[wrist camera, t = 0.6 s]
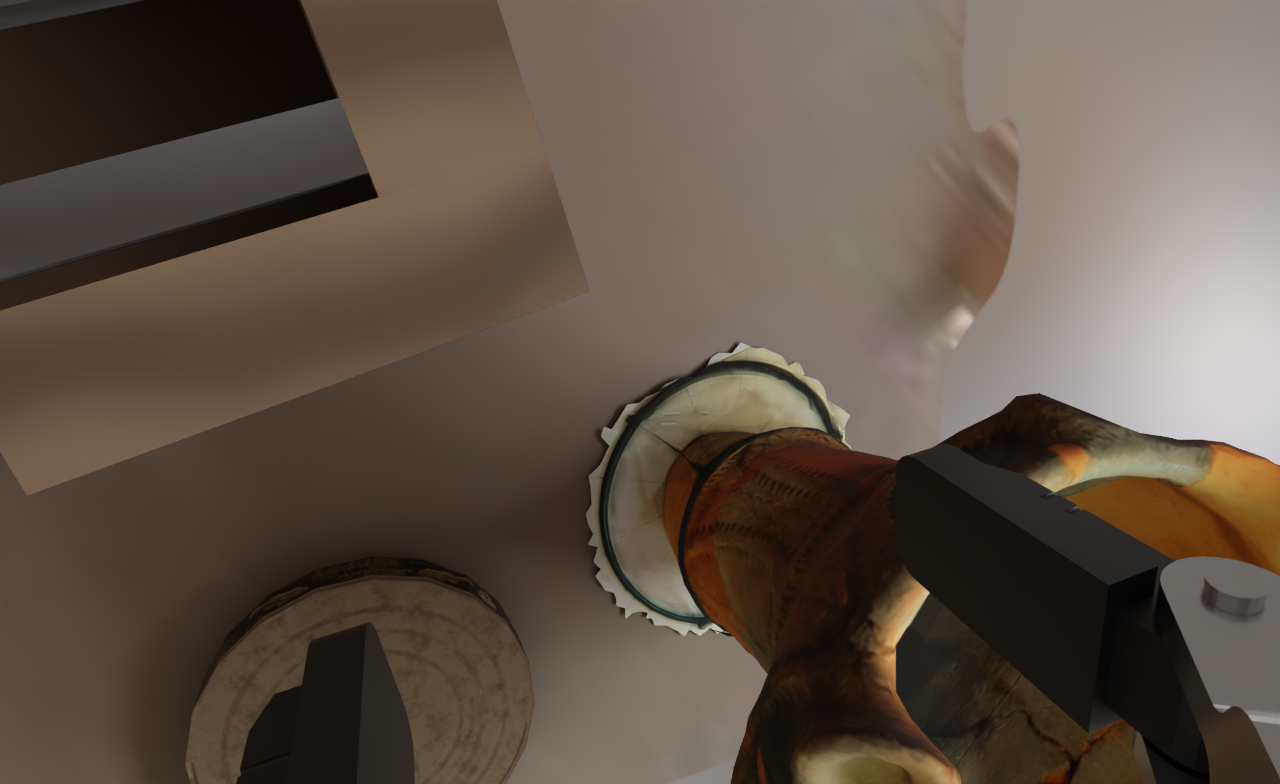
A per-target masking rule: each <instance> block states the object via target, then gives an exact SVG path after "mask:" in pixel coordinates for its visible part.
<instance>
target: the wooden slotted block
mask: <svg viewBox="0 0 1280 784" xmlns="http://www.w3.org/2000/svg"><path fill="white" fill-rule="evenodd" d="M138 1H143V0H0V30H2V29H7V28H12V27H17V26H22V25H26V24H31V23H36V22H41V21H46V20H51V19H56V18H60V17H65V16H70V15H75V14H80V13H85V12H90V11H95V10H99V9H104V8H109V7H114V6H119V5H124V4H129V3H133V2H138ZM298 1H299V4H300V6H301V9H302V11H303V14H304V16H305V19H306V21H307V24H308V26H309V29H310V31H311V34H312V37H313V39H314V42H315V44H316V47H317V49H318V52H319V54H320V57H321V59H322V62H323V64H324V67H325V69H326V72H327V74H328V77H329V79H330V82H331V84H332V87H333V89H334V92H335V94H336V97H337V99H333V100H329V101H325V102H321V103H318V104H314V105H310V106H306V107H302V108H298V109H294V110H290V111H286V112H283V113H279V114H275V115H271V116H267V117H263V118H259V119H255V120H251V121H248V122H244V123H240V124H236V125H232V126H228V127H224V128H220V129H216V130H213V131H209V132H205V133H201V134H197V135H193V136H189V137H185V138H181V139H178V140H174V141H170V142H166V143H162V144H158V145H154V146H150V147H146V148H143V149H139V150H135V151H131V152H127V153H123V154H119V155H115V156H111V157H108V158H104V159H100V160H96V161H92V162H88V163H84V164H80V165H76V166H73V167H69V168H65V169H61V170H57V171H53V172H49V173H45V174H41V175H38V176H34V177H30V178H26V179H22V180H18V181H14V182H10V183H6V184H3V185H0V283H3V282H6V281H9V280H13V279H16V278H20V277H23V276H27V275H30V274H34V273H37V272H40V271H44V270H47V269H51V268H54V267H58V266H61V265H65V264H68V263H72V262H75V261H78V260H82V259H85V258H89V257H92V256H96V255H99V254H103V253H106V252H109V251H113V250H116V249H120V248H123V247H127V246H130V245H134V244H137V243H141V242H144V241H147V240H151V239H154V238H158V237H161V236H165V235H168V234H172V233H175V232H178V231H182V230H185V229H189V228H192V227H196V226H199V225H203V224H206V223H210V222H213V221H216V220H220V219H223V218H227V217H230V216H234V215H237V214H241V213H244V212H247V211H251V210H254V209H258V208H261V207H265V206H268V205H272V204H275V203H279V202H282V201H285V200H289V199H292V198H296V197H299V196H303V195H306V194H310V193H313V192H316V191H320V190H323V189H327V188H330V187H334V186H337V185H341V184H344V183H348V182H351V181H354V180H358V179H361V178H365V177H369V180H370V182H371V185H372V187H373V190H374V192H375V195H376V197H377V198H375V199H372V200H369V201H365V202H362V203H358V204H355V205H352V206H348V207H345V208H342V209H338V210H335V211H332V212H328V213H325V214H322V215H318V216H315V217H312V218H308V219H305V220H302V221H298V222H295V223H292V224H288V225H285V226H282V227H278V228H275V229H272V230H268V231H265V232H261V233H258V234H255V235H251V236H248V237H245V238H241V239H238V240H235V241H231V242H228V243H225V244H221V245H218V246H215V247H211V248H208V249H205V250H201V251H198V252H195V253H191V254H188V255H185V256H181V257H178V258H175V259H171V260H168V261H164V262H161V263H158V264H154V265H151V266H148V267H144V268H141V269H138V270H134V271H131V272H128V273H124V274H121V275H118V276H114V277H111V278H108V279H104V280H101V281H98V282H94V283H91V284H88V285H84V286H81V287H78V288H74V289H71V290H67V291H64V292H61V293H57V294H54V295H51V296H47V297H44V298H41V299H37V300H34V301H31V302H27V303H24V304H21V305H17V306H14V307H11V308H7V309H4V310H1V311H0V453H1V455H2V456H3V458H4V460H5V461H6V463H7V464H8V466H9V467H10V469H11V471H12V472H13V474H14V475H15V477H16V479H17V480H18V482H19V483H20V485H21V487H22V488H23V490H24V491H25V493H26V494H27V496H28V495H31V494H33V493H36V492H39V491H42V490H44V489H47V488H50V487H53V486H55V485H58V484H61V483H64V482H66V481H69V480H72V479H75V478H77V477H80V476H83V475H86V474H88V473H91V472H94V471H97V470H99V469H102V468H105V467H108V466H110V465H113V464H116V463H119V462H121V461H124V460H127V459H130V458H132V457H135V456H138V455H141V454H143V453H146V452H149V451H152V450H154V449H157V448H160V447H163V446H165V445H168V444H171V443H174V442H176V441H179V440H182V439H185V438H187V437H190V436H193V435H196V434H198V433H201V432H204V431H207V430H209V429H212V428H215V427H218V426H220V425H223V424H226V423H229V422H231V421H234V420H237V419H240V418H242V417H245V416H248V415H251V414H253V413H256V412H259V411H262V410H264V409H267V408H270V407H273V406H275V405H278V404H281V403H284V402H286V401H289V400H292V399H295V398H297V397H300V396H303V395H306V394H308V393H311V392H314V391H317V390H319V389H322V388H325V387H328V386H330V385H333V384H336V383H338V382H341V381H344V380H347V379H349V378H352V377H355V376H358V375H360V374H363V373H366V372H369V371H371V370H374V369H377V368H380V367H382V366H385V365H388V364H391V363H393V362H396V361H399V360H402V359H404V358H407V357H410V356H413V355H415V354H418V353H421V352H424V351H426V350H429V349H432V348H435V347H437V346H440V345H443V344H446V343H448V342H451V341H454V340H457V339H459V338H462V337H465V336H468V335H470V334H473V333H476V332H479V331H481V330H484V329H487V328H490V327H492V326H495V325H498V324H501V323H503V322H506V321H509V320H512V319H514V318H517V317H520V316H523V315H525V314H528V313H531V312H534V311H536V310H539V309H542V308H545V307H547V306H550V305H553V304H556V303H558V302H561V301H564V300H567V299H569V298H572V297H575V296H578V295H580V294H583V293H586V292H589V291H590V290H589V287H588V284H587V281H586V278H585V275H584V272H583V269H582V265H581V262H580V259H579V256H578V253H577V250H576V247H575V244H574V240H573V237H572V234H571V231H570V228H569V225H568V222H567V219H566V215H565V212H564V209H563V206H562V203H561V200H560V197H559V194H558V190H557V187H556V184H555V181H554V178H553V175H552V172H551V169H550V165H549V162H548V159H547V156H546V153H545V150H544V147H543V144H542V140H541V137H540V134H539V131H538V128H537V125H536V122H535V119H534V115H533V112H532V109H531V106H530V103H529V100H528V97H527V93H526V90H525V87H524V84H523V81H522V78H521V75H520V72H519V68H518V65H517V62H516V59H515V56H514V53H513V50H512V47H511V43H510V40H509V37H508V34H507V31H506V28H505V25H504V22H503V18H502V15H501V12H500V9H499V6H498V3H497V0H298Z"/></svg>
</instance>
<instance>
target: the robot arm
mask: <svg viewBox="0 0 1280 784" xmlns="http://www.w3.org/2000/svg"><path fill="white" fill-rule="evenodd" d="M895 481H896V543H897V548H898V552H899V555H900V558H901V560H902V562H903V564H904V566H905V567H906V569H907V571H908V572H909V573H910V575H911V576H912V577H913V578H914V579H915V580H916V581H917V582H918V583H920V584H921V585H922V586H923V587H924V588H925V589H926V590H927V591H929V592H930V593H931V594H932V595H933V596H934V597H935V598H936V599H938V600H939V601H940V602H941V603H942V604H943V605H944V606H945V607H947V608H948V609H949V610H950V611H951V612H952V613H953V614H954V615H956V616H957V617H958V618H959V619H960V620H961V621H962V622H963V623H965V624H966V625H967V626H968V627H969V628H970V629H971V630H972V631H974V632H975V633H976V634H977V635H978V636H979V637H980V638H981V639H983V640H984V641H985V642H986V643H987V644H988V645H989V646H990V647H992V648H993V649H994V650H995V651H996V652H997V653H998V654H999V655H1001V656H1002V657H1003V658H1004V659H1005V660H1006V661H1007V662H1008V663H1010V664H1011V665H1012V666H1013V667H1014V668H1015V669H1016V670H1017V671H1019V672H1020V673H1021V674H1022V675H1023V676H1024V677H1025V678H1026V679H1028V680H1029V681H1030V682H1031V683H1032V684H1033V685H1034V686H1035V687H1037V688H1038V689H1039V690H1040V691H1041V692H1042V693H1043V694H1044V695H1046V696H1047V697H1048V698H1049V699H1050V700H1051V701H1052V702H1053V703H1055V704H1056V705H1057V706H1058V707H1059V708H1060V709H1061V710H1062V711H1064V712H1065V713H1066V714H1067V715H1068V716H1069V717H1070V718H1071V719H1073V720H1074V721H1075V722H1076V723H1077V724H1078V725H1079V726H1080V727H1082V728H1083V729H1084V730H1085V731H1086V732H1087V733H1088V734H1089V733H1091V732H1094V731H1096V730H1098V729H1100V728H1103V727H1105V726H1107V725H1109V724H1112V723H1114V722H1116V721H1118V720H1121V719H1123V720H1125V721H1126V722H1127V723H1128V724H1129V725H1131V726H1132V727H1133V728H1134V734H1133V741H1132V748H1133V753H1134V757H1135V760H1136V763H1137V767H1138V770H1139V774H1140V777H1141V780H1142V784H1280V576H1278V575H1277V574H1275V573H1272V572H1270V571H1268V570H1266V569H1263V568H1260V567H1258V566H1255V565H1252V564H1249V563H1245V562H1241V561H1237V560H1232V559H1227V558H1219V557H1202V556H1201V557H1189V558H1184V559H1180V560H1177V561H1175V560H1173V559H1171V558H1169V557H1168V556H1166V555H1164V554H1162V553H1161V552H1159V551H1157V550H1155V549H1154V548H1152V547H1150V546H1148V545H1146V544H1145V543H1143V542H1141V541H1139V540H1138V539H1136V538H1134V537H1132V536H1131V535H1129V534H1127V533H1125V532H1124V531H1122V530H1120V529H1118V528H1117V527H1115V526H1113V525H1111V524H1109V523H1108V522H1106V521H1104V520H1102V519H1101V518H1099V517H1097V516H1095V515H1094V514H1092V513H1090V512H1088V511H1087V510H1085V509H1084V510H1082V511H1081V510H1080V509H1079V507H1078V505H1076V504H1074V503H1072V502H1071V501H1069V500H1067V499H1065V498H1064V497H1062V496H1060V495H1058V496H1055V495H1054V492H1053V491H1051V490H1050V489H1048V488H1046V487H1044V486H1043V485H1041V484H1039V483H1037V482H1036V481H1034V480H1032V479H1030V478H1028V477H1027V476H1025V475H1023V474H1019V473H1016V472H1013V471H1009V470H1006V469H1003V468H999V467H996V466H992V465H989V464H984V463H982V462H980V461H979V460H977V459H975V458H974V457H972V456H970V455H969V454H967V453H965V452H963V451H962V450H960V449H958V448H957V447H955V446H953V445H950V444H942V445H939V446H936V447H933V448H930V449H926V450H923V451H920V452H917V453H914V454H910V455H907V456H904V457H902V458H900V460H899V461H898V463H897V465H896V473H895ZM240 772H241V776H239V777H238V778H237V783H236V784H415V767H414V748H413V740H412V734H411V729H410V724H409V720H408V716H407V712H406V709H405V706H404V703H403V700H402V698H401V695H400V692H399V690H398V687H397V684H396V682H395V679H394V676H393V674H392V671H391V668H390V666H389V663H388V660H387V658H386V655H385V652H384V650H383V647H382V644H381V642H380V639H379V636H378V634H377V631H376V629H375V627H374V626H373V624H372V623H371V622H368V623H365V624H361V625H358V626H355V627H352V628H349V629H345V630H342V631H339V632H336V633H333V634H329V635H326V636H323V637H320V638H317V639H313V640H311V641H310V643H309V646H308V651H307V657H306V663H305V669H304V675H303V681H302V685H300V686H297V687H294V688H291V689H288V690H285V691H282V692H279V693H275V694H274V695H273V696H272V698H271V699H270V701H269V702H268V704H267V705H266V707H265V708H264V710H263V711H262V713H261V714H260V716H259V717H258V719H257V720H256V722H255V723H254V725H253V726H252V727H251V729H250V730H249V733H248V737H247V741H246V745H245V749H244V754H243V758H242V762H241V766H240Z"/></svg>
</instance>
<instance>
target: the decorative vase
mask: <svg viewBox="0 0 1280 784" xmlns="http://www.w3.org/2000/svg"><path fill="white" fill-rule="evenodd" d="M849 417H850V415H849V414H848V413H846V412H845V411H844V410H843V409H841V408H840V407H838V406H836V405H834V404H833V403H831V402H830V401H828V400H826V393H825V389H824V387H823V386H822V384H821V383H820V382H819V380H816V379H813V378H810V377H806V376H805V374H804V372H803V369H802V367H801V365H800V364H798V363H796V362H794V363H792V364H791V365H789V366H788V365H787V363H786V362H785V360H784V358H783V357H782V356H781V355H779V354H776V353H774V352H772V351H769V350H767V349H765V348H752V347H750V346H748V345H746V344H743V343H740V344H739V345H738V346H737V347H736V349H735V350H734V351H733V352H732V353H717V354H716V355H714V356H713V357H712V358H711V359H710V361H709V363H708V365H707V366H706V367H705V368H704V369H703V370H702V371H701V372H700V373H699V374H698V375H697V376H696V377H687V378H678V379H676V380H674V381H672V382H669V383H667V384H666V385H664V386H663V387H662V388H661V389H660V390H659V391H658V392H656V393H654V394H652V395H650V396H647V397H645V398H644V399H643V400H642V401H641V402H640V403H635V404H627V406H626V407H625V409H624V411H623V412H622V414H621V416H620V417H619V419H618V420H617V422H616V423H615V425H614V426H613V428H612V429H609V428H607V427H604V429H603V432H602V434H601V437H602V438H603V439H604V440H605V442H606V443H607V444H608V445H609V448H608V450H607V452H606V454H605V456H604V458H603V460H602V462H601V464H600V466H599V467H598V468H596V469H595V470H594V471H593V472H592V473H591V474H590V475H589V476H588V477H589V482H590V488H591V501H592V505H591V506H590V508H589V509H588V511H587V513H586V517H587V521H588V525H589V527H590V529H591V531H592V533H593V536H592V538H591V539H590V541H589V543H588V545H591V546H595V547H597V551H596V555H595V558H594V561H593V562H594V563H595V564H596V565H597V566H598V567H599V568H600V569H601V570H600V571H599V572H598V573H597V575H596V578H597V579H598V581H599V582H600V583H601V585H602V586H603V588H604V590H605V591H609V592H613V593H614V595H615V597H616V606H619V607H622V608H625V615H626V619H627V618H628V617H629V616H630V615H631V614H632V613H635V612H638V611H640V612H647V613H648V614H647V617H646V619H647V618H652V620H653V623H654V625H663V626H668V627H670V628H672V629H674V630H676V631H678V632H679V633H681V634H682V635H683V636H685V635H686V633H687V632H688V631H689V630H691V631H692V632H694V633H696V634H698V635H700V636H701V635H702V634H703V633H704V632H706V631H707V630H708V629H709V628H712V629H711V630H714V631H715V632H716V633H717V634H718V633H722V634H724V635H727V636H733V637H735V639H736V640H737V641H738V642H739V643H740V644H741V645H742V646H743V648H744V649H745V650H746V651H747V652H748V653H750V654H751V655H752V656H754V657H755V658H756V660H757V661H758V662H759V664H760V665H761V666H762V668H763V669H764V670H765V671H766V673H767V674H768V675H767V678H766V680H765V683H764V685H763V688H762V691H761V693H760V695H759V697H758V699H757V701H756V703H755V705H754V707H753V709H752V711H751V713H750V715H749V717H748V722H747V727H746V732H745V736H744V738H743V741H742V744H741V746H740V749H739V753H738V756H737V759H736V762H735V766H734V770H733V775H732V780H731V784H1142V780H1141V777H1140V774H1139V770H1138V767H1137V763H1136V760H1135V757H1134V753H1133V748H1132V741H1133V734H1134V728H1133V727H1132V726H1131V725H1129V724H1128V723H1127V722H1126V721H1125V720H1123V719H1121V720H1118V721H1116V722H1114V723H1112V724H1109V725H1107V726H1105V727H1103V728H1100V729H1098V730H1096V731H1094V732H1091V733H1089V734H1088V733H1087V732H1086V731H1085V730H1084V729H1083V728H1082V727H1080V726H1079V725H1078V724H1077V723H1076V722H1075V721H1074V720H1073V719H1071V718H1070V717H1069V716H1068V715H1067V714H1066V713H1065V712H1064V711H1062V710H1061V709H1060V708H1059V707H1058V706H1057V705H1056V704H1055V703H1053V702H1052V701H1051V700H1050V699H1049V698H1048V697H1047V696H1046V695H1044V694H1043V693H1042V692H1041V691H1040V690H1039V689H1038V688H1037V687H1035V686H1034V685H1033V684H1032V683H1031V682H1030V681H1029V680H1028V679H1026V678H1025V677H1024V676H1023V675H1022V674H1021V673H1020V672H1019V671H1017V670H1016V669H1015V668H1014V667H1013V666H1012V665H1011V664H1010V663H1008V662H1007V661H1006V660H1005V659H1004V658H1003V657H1002V656H1001V655H999V654H998V653H997V652H996V651H995V650H994V649H993V648H992V647H990V646H989V645H988V644H987V643H986V642H985V641H984V640H983V639H981V638H980V637H979V636H978V635H977V634H976V633H975V632H974V631H972V630H971V629H970V628H969V627H968V626H967V625H966V624H965V623H963V622H962V621H961V620H960V619H959V618H958V617H957V616H956V615H954V614H953V613H952V612H951V611H950V610H949V609H948V608H947V607H945V606H944V605H943V604H942V603H941V602H940V601H939V600H938V599H936V598H935V597H934V596H933V595H932V594H931V593H930V592H929V591H927V590H926V589H925V588H924V587H923V586H922V585H921V584H920V583H918V582H917V581H916V580H915V579H914V578H913V577H912V576H911V575H910V573H909V572H908V571H907V569H906V567H905V566H904V564H903V562H902V560H901V558H900V555H899V552H898V548H897V543H896V481H895V473H896V465H897V463H898V460H894V459H890V458H886V457H882V456H877V455H872V454H867V453H863V452H858V451H851V450H850V449H851V447H850V446H849V445H848V444H847V443H846V442H845V425H846V423H847V421H848V419H849ZM942 444H950V445H953V446H955V447H957V448H958V449H960V450H962V451H963V452H965V453H967V454H969V455H970V456H972V457H974V458H975V459H977V460H979V461H980V462H982V463H984V464H989V465H992V466H996V467H999V468H1003V469H1006V470H1009V471H1013V472H1016V473H1019V474H1023V475H1025V476H1027V477H1028V478H1030V479H1032V480H1034V481H1036V482H1037V483H1039V484H1041V485H1043V486H1044V487H1046V488H1048V489H1050V490H1051V491H1053V492H1054V495H1055V496H1058V495H1060V496H1062V497H1064V498H1065V499H1067V500H1069V501H1071V502H1072V503H1074V504H1076V505H1078V507H1079V509H1080V510H1081V511H1082V510H1084V509H1085V510H1087V511H1088V512H1090V513H1092V514H1094V515H1095V516H1097V517H1099V518H1101V519H1102V520H1104V521H1106V522H1108V523H1109V524H1111V525H1113V526H1115V527H1117V528H1118V529H1120V530H1122V531H1124V532H1125V533H1127V534H1129V535H1131V536H1132V537H1134V538H1136V539H1138V540H1139V541H1141V542H1143V543H1145V544H1146V545H1148V546H1150V547H1152V548H1154V549H1155V550H1157V551H1159V552H1161V553H1162V554H1164V555H1166V556H1168V557H1169V558H1171V559H1173V560H1175V561H1177V560H1180V559H1184V558H1189V557H1201V556H1202V557H1219V558H1227V559H1232V560H1237V561H1241V562H1245V563H1249V564H1252V565H1255V566H1258V567H1260V568H1263V569H1266V570H1268V571H1270V572H1272V573H1275V574H1277V575H1278V576H1280V465H1277V464H1275V463H1273V462H1271V461H1269V460H1268V459H1266V458H1264V457H1261V456H1258V455H1255V454H1253V453H1250V452H1247V451H1244V450H1241V449H1239V448H1236V447H1234V446H1231V445H1229V444H1226V443H1223V442H1215V441H1207V440H1177V439H1173V438H1168V437H1163V436H1156V435H1149V434H1142V433H1138V432H1135V431H1133V430H1130V429H1128V428H1125V427H1122V426H1120V425H1117V424H1114V423H1112V422H1109V421H1107V420H1104V419H1102V418H1099V417H1097V416H1095V415H1092V414H1090V413H1087V412H1085V411H1082V410H1079V409H1077V408H1075V407H1072V406H1070V405H1067V404H1065V403H1062V402H1060V401H1057V400H1055V399H1052V398H1050V397H1047V396H1045V395H1042V394H1040V393H1038V394H1030V395H1023V396H1016V397H1015V398H1014V399H1013V400H1012V401H1011V402H1010V403H1009V404H1008V405H1007V406H1006V407H1005V408H1004V409H1003V410H1002V411H1000V412H998V413H996V414H994V415H992V416H990V417H988V418H987V419H985V420H983V421H980V422H978V423H976V424H974V425H972V426H970V427H968V428H966V429H964V430H962V431H960V432H958V433H956V434H955V435H953V436H951V437H950V438H948V439H946V440H944V441H943V442H941V443H939V444H938V445H936V446H939V445H942ZM936 446H934V447H936ZM932 448H933V447H932ZM723 630H724V631H727V632H729V633H724V632H722V631H723Z"/></svg>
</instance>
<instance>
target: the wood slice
mask: <svg viewBox="0 0 1280 784" xmlns="http://www.w3.org/2000/svg"><path fill="white" fill-rule="evenodd" d="M368 622H371V623H372V624H373V626H374V627H375V629H376V631H377V634H378V636H379V639H380V642H381V644H382V647H383V650H384V652H385V655H386V658H387V660H388V663H389V666H390V668H391V671H392V674H393V676H394V679H395V682H396V684H397V687H398V690H399V692H400V695H401V698H402V700H403V703H404V706H405V709H406V712H407V716H408V720H409V724H410V729H411V734H412V740H413V748H414V767H415V784H506V782H507V781H508V779H509V777H510V775H511V773H512V771H513V769H514V768H515V766H516V764H517V762H518V760H519V758H520V756H521V755H522V753H523V751H524V749H525V747H526V744H527V739H528V734H529V729H530V724H531V719H532V714H533V709H534V704H535V702H534V695H533V688H532V681H531V674H530V668H529V662H528V659H527V657H526V654H525V652H524V649H523V647H522V644H521V642H520V639H519V637H518V635H517V633H516V631H515V630H514V628H513V626H512V624H511V623H510V621H509V619H508V617H507V616H506V614H505V612H504V610H503V608H502V607H501V605H500V603H499V601H497V600H496V599H495V598H494V597H493V596H491V595H490V594H489V593H488V592H486V591H485V590H484V589H483V588H482V587H480V586H479V585H478V584H477V583H475V582H474V581H473V580H472V579H471V578H469V577H468V576H467V575H466V574H463V573H460V572H457V571H454V570H452V569H449V568H446V567H443V566H441V565H438V564H435V563H432V562H430V561H427V560H424V559H417V558H395V557H374V556H371V557H366V558H362V559H358V560H353V561H349V562H345V563H340V564H336V565H332V566H327V567H323V568H319V569H316V570H314V571H313V572H311V573H309V574H307V575H305V576H303V577H301V578H300V579H298V580H296V581H294V582H292V583H290V584H288V585H286V586H285V587H283V588H281V589H279V590H277V591H275V592H273V593H272V594H270V595H268V596H267V597H266V598H265V599H264V600H263V601H262V602H261V603H260V604H259V605H258V606H257V607H256V608H255V609H253V610H252V611H251V612H250V613H249V614H248V615H247V616H246V617H245V618H244V619H243V620H242V621H241V622H240V623H239V624H238V625H237V626H236V627H235V628H234V629H233V630H232V631H231V632H230V633H229V634H228V635H227V637H226V639H225V641H224V643H223V645H222V646H221V648H220V650H219V652H218V654H217V656H216V658H215V659H214V661H213V663H212V665H211V667H210V669H209V671H208V672H207V674H206V676H205V678H204V680H203V683H202V686H201V689H200V692H199V695H198V697H197V700H196V703H195V706H194V709H193V712H192V717H191V724H190V731H189V739H188V746H187V754H186V761H185V766H186V769H187V773H188V776H189V780H190V783H191V784H236V783H237V778H238V777H239V776H241V772H240V766H241V762H242V758H243V754H244V749H245V745H246V741H247V737H248V733H249V730H250V729H251V727H252V726H253V725H254V723H255V722H256V720H257V719H258V717H259V716H260V714H261V713H262V711H263V710H264V708H265V707H266V705H267V704H268V702H269V701H270V699H271V698H272V696H273V695H274V694H275V693H279V692H282V691H285V690H288V689H291V688H294V687H297V686H300V685H302V681H303V675H304V669H305V663H306V657H307V651H308V646H309V643H310V641H311V640H313V639H317V638H320V637H323V636H326V635H329V634H333V633H336V632H339V631H342V630H345V629H349V628H352V627H355V626H358V625H361V624H365V623H368Z"/></svg>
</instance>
